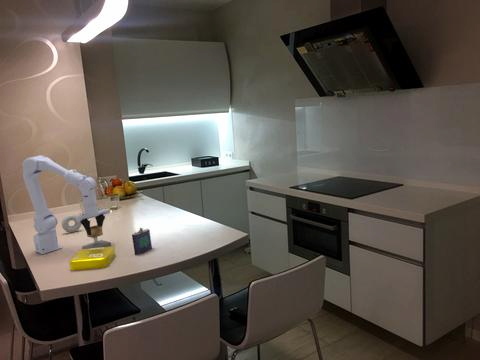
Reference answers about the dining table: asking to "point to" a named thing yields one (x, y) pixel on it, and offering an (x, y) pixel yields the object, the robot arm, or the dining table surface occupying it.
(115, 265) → the dining table surface
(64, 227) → the donut
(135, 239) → the flask
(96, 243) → the rod stand
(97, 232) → the wooden square ring
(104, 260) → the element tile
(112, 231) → the dining table surface
